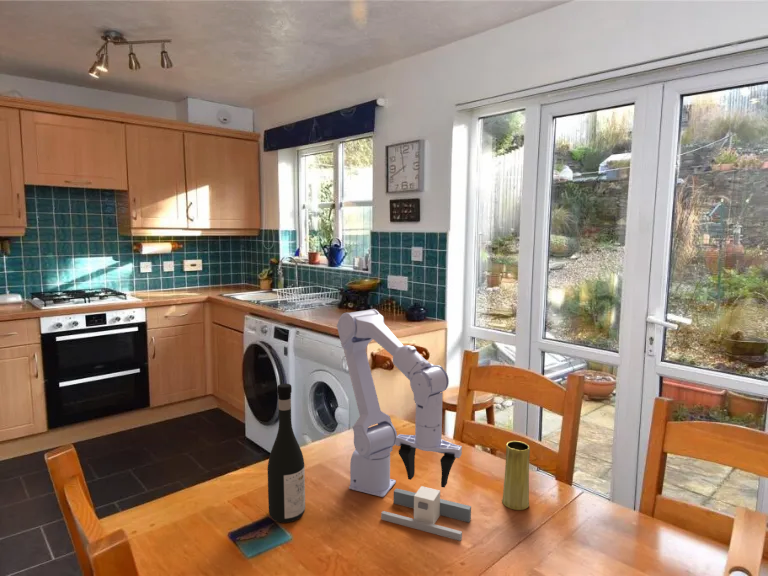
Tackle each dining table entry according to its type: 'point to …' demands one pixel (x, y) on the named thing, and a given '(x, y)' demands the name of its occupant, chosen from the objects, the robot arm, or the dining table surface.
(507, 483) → the vase
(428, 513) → the cabinet block
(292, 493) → the wine bottle
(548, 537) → the dining table surface
